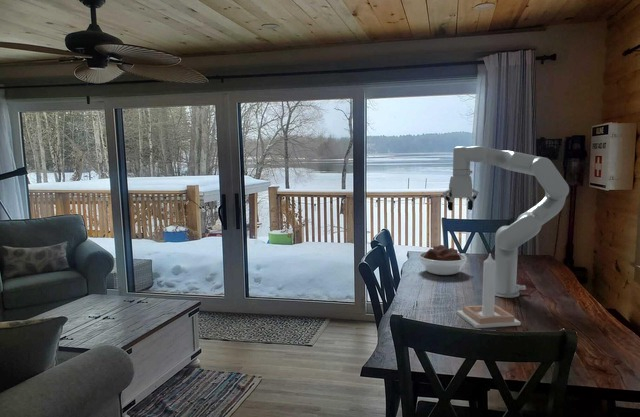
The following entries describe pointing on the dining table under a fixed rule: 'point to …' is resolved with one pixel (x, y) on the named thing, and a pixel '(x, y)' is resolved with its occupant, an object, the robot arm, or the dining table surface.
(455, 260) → the white bowl with food
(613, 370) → the dining table surface
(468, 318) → the tray
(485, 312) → the candle
